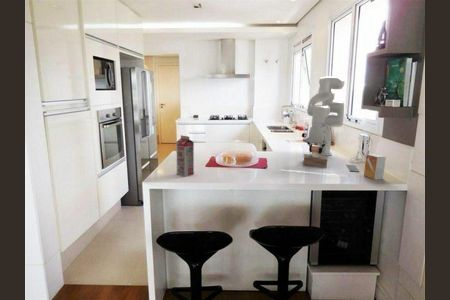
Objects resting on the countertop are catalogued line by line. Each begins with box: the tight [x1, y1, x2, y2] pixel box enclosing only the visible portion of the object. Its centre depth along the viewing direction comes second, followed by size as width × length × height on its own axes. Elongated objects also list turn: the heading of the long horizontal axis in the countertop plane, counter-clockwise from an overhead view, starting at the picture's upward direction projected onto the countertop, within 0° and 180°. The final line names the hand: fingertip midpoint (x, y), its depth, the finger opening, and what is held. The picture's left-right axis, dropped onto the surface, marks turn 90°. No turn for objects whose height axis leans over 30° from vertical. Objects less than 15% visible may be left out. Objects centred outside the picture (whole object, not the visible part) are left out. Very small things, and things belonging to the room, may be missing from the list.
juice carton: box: [175, 135, 195, 178], centre depth 159 cm, size 7×7×22 cm
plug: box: [311, 145, 320, 158], centre depth 188 cm, size 6×6×11 cm
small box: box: [363, 153, 387, 180], centre depth 163 cm, size 8×6×13 cm
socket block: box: [303, 153, 328, 169], centre depth 188 cm, size 14×14×6 cm
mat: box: [346, 164, 360, 173], centre depth 184 cm, size 16×12×1 cm
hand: (315, 152), depth 187 cm, fingers closed on plug, 5 cm apart
